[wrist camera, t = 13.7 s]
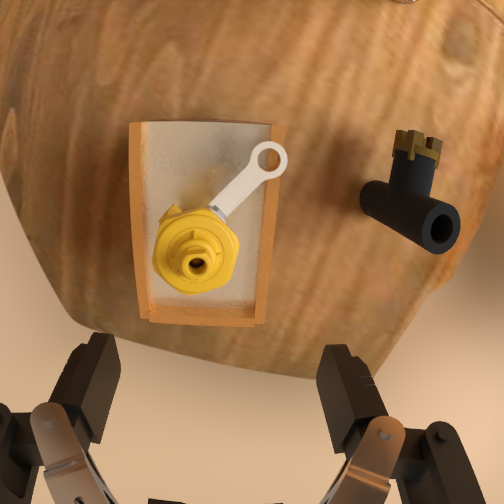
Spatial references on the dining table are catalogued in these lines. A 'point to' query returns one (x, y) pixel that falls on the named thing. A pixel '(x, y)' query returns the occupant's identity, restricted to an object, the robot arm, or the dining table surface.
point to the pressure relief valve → (207, 233)
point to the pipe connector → (413, 195)
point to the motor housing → (200, 195)
